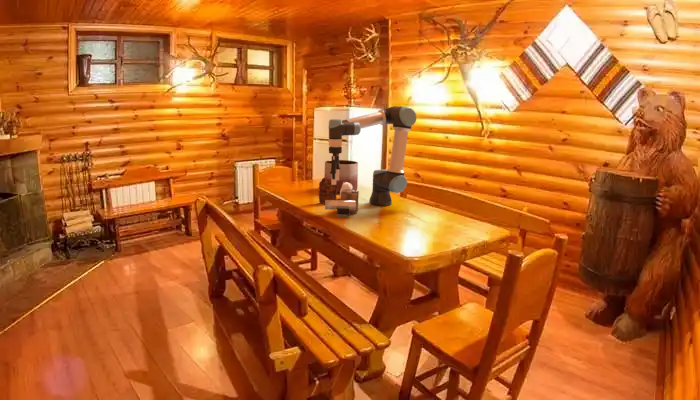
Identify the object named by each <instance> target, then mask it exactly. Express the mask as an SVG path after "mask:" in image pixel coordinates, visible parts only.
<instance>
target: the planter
mask: <svg viewBox="0 0 700 400" xmlns="http://www.w3.org/2000/svg"><path fill="white" fill-rule="evenodd" d="M331 163H332V159H330V160H326V161H324V177H327V176H330V177H331V174H330V172H331ZM339 166H340V167H339V168H340V169H338V170H339V180H336V182H337V194H340V190H341V188H342V185H343V182H344V183H346V182H348V183H350V184H352V187H353V188H352V191H353V190H354V191H358V181H359V175H358V174H359V173H358V171H359V162H357V161H354V160H347V159H339ZM324 177H323V178H324Z"/></svg>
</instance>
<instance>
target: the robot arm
mask: <svg viewBox="0 0 700 400" xmlns="http://www.w3.org/2000/svg"><path fill="white" fill-rule="evenodd" d="M416 123H417V113H416V111H415V109H414V108H413V107H411V106H399V105H397V106H396V105H394V106H390V107H386V108H382V109H379V110H378V111H377V112H373V113H369V114H364V115H360V116H356V117H351V118H348V119H343V120H342V119H340V118H338V119H337V118H332V119H329V120H328V140H327V143H328V153H329V154H332V155H331V160H332V163H331V172H330V174H331V185H336V180H339V170H338V169H340V168H339V167H340V166H339V160H340V154H342V152H343V149H342V145H343V141H342V140H343V136H357V135H358V136H359V135H360V133H361V129H364V128H365V129H366V128H368V127H374V126H378V125H381V126H384V125H392V129H393V130H394V133H393V139H392V146H391V153H390V160H389V161H390V162H389V167H388V169H374V170H373V172H372V173H373V174H372V190H371V191H372V192H371V195H370V197H369V200H368V201H369V204H370V205H373V206H378V207H379V206H380V207H386V206H387V207H388V206H391V205H392V202H393V200H392V197H391V193H394V194H399V193H402V192H403V191H404V190H405V189H406V187H407V185H408V180H407V178H406V177H405V171H404V164H405V158H406V157H405V156H406V150H407V142H408V138H409V137H408V136H409V132H410V131H411V130H412V127H413V126H414V124H416Z"/></svg>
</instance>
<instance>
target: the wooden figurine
mask: <svg viewBox="0 0 700 400" xmlns="http://www.w3.org/2000/svg"><path fill="white" fill-rule="evenodd" d="M318 189H319V191H318V199H319V204H322V205H325V200H337V194H338V193H337V182H336V185H331V177H330V176H327V177H323V178H322V179H321V180H320V181H319V187H318Z"/></svg>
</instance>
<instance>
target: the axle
mask: <svg viewBox="0 0 700 400" xmlns="http://www.w3.org/2000/svg"><path fill="white" fill-rule="evenodd" d="M337 206H342V207H349V210H356V201H354V200H341V199H339V200H338V199H336V200H325V204H324V209H325V210H334V211H335V210H336V211H337Z"/></svg>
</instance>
